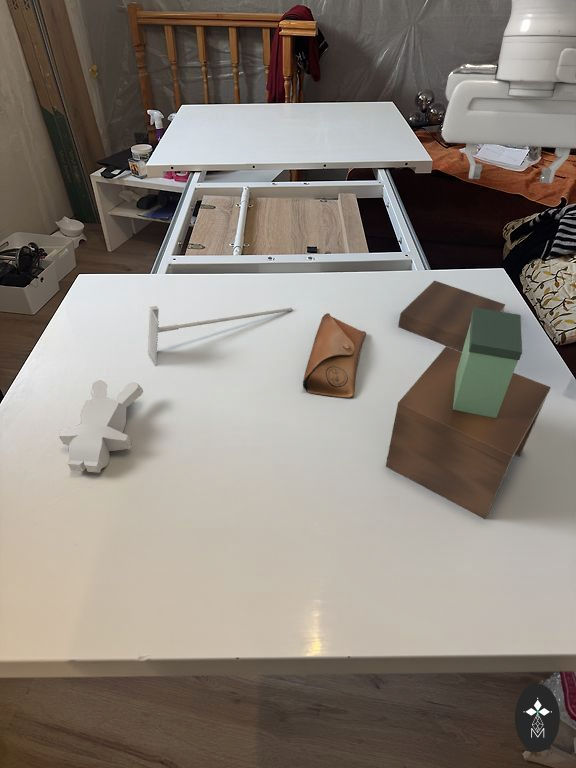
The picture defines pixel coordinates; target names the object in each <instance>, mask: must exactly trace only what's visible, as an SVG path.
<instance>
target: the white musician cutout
mask: <svg viewBox="0 0 576 768" xmlns="http://www.w3.org/2000/svg"><path fill="white" fill-rule="evenodd" d="M91 384H92V385H91V389H90V395H91V398H92V399H87V400H85V402H84V403H83V406H82V408H81V411H80V418H79V419H80V420H79V421H80V423H79V424H77V425H74V426H71V427H67V428H64V429H61V430H59V434H58V437H59V439H60V441H61V443H62V445H64V446H69V447H68V462H67V466H68V467H69V468H70V470H71V471H76V472H77V471H78V472H83V471H85V470H86V471H87V472H88V473H89V472H90V473H101V470H102V469H103V468H106V467H107V466H108V465H109V464H110V459H111V456H110V452H113V451H123V450H130V448H131V446H132V443H131V439H130V438H129V437H130V436H129V435H128V434H126V433H124V430H125V428H126V425H127V407H129V406H131V404H132V403H134V402H135V401H136V400H138V399H139V398H140V397H141V396H142V395H143V394H144V390H143V387H141V385H140V384H139V383H137V382H130V383H128V384H126V385H125V386H123V388H122V390H121V391H120V392H119V393H118V395H117V396H116V397H115V398H114V399H112V398H110V397H108V384H107V382H106V381H104V380H95V381H94V382H92V383H91Z"/></svg>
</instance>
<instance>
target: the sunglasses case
mask: <svg viewBox="0 0 576 768" xmlns="http://www.w3.org/2000/svg"><path fill="white" fill-rule="evenodd" d="M366 336H367V331H365V330H360V329H357V328H356V327H354V326H352V325H350V324H348V323H346V322H344V321H341V320H340V319H337V318H336V317H333V316H332V315H331V313H329V312H326V313H324V314H323V316H322V317H321V319H320V323H319V325H318V328H317V332H316V334H315V338H314V341H313V345H312V347H311V350H310V353H309V357H308V360H307V364H306V367H305V371H304V376H303V379H302V387H303V389H304V390H305V391H306V392H307V393H308V394H312V395H317V396H321V397H322V396H323V397H330V398H342V399H350V398H353V397H354V395H355V388H356V377H357V370H358V364H359V359H360V355H361V351H362V347H363V343H364V340H365V338H366Z"/></svg>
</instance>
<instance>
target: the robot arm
mask: <svg viewBox="0 0 576 768" xmlns="http://www.w3.org/2000/svg"><path fill="white" fill-rule="evenodd" d="M502 36H503V37H502V41H501V46H500V52H499V57H498V62H497V63H483V64H473V63H462V64H461V66H459V67H456V68H455V69H453V70H451V72H450V73H449V75H448V77H447V78H446V85H445V91H444V95H445V99H446V100H447V102H448V104H447V107H446V111H445V115H444V119H443V124H442V130H441V138H443V140H444V141H445V142H446V143H447V144H449V143H450V144H451V143H452V144H465V149H464V150H465V154H466V157H467V160H468V163H469V165H470V166H469V170H468V179H469V180H481V173H482V170H483V164H481V163H476V161H475V158H474V155H473V154H474V153H477V150H478V145H491V146H493V145H495V146H497V145H498V146H514V147H515V146H516V147H535V148H536V147H537V148H538V147H539V148H555V151H554V154H555V155H556V158H555V159H554V160H553V161H552V163H551V164H550V165H549V166H548V167H541V171H540V173H541V174H540V175H539V179H538V182H539V183H540V184H548V185H550V184H551V185H552V184H553V182H554V178H555V174H556V171H558V169H560V168H561V166H562V165H563V164H564V163H565V162H566V161H567V159H568V158H569V156H570V153H571V149H576V0H511V11H510V15H509V19H508V22H507V24H506V27H505V29H504V32H503V35H502ZM458 72H460V73H458Z"/></svg>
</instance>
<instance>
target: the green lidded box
mask: <svg viewBox="0 0 576 768" xmlns="http://www.w3.org/2000/svg"><path fill="white" fill-rule="evenodd" d="M521 316H522V315H521V314H520V313H519V314H517V313H512V312H505V311H503V312H500V311H493V310H487V309H480V308H473V312H472V315H471V322H470V326H469V329H468V333H467V337H466V340H465V344H464V347H463V351H462V354H461V358H460V362H459V365H458V369H457V372H456V381H455V392H454V402H453V410H457V411H462V412H467V413H472V414H477V415H483V416H488V417H493V418H497V415H498V413H499V410H500V407H501V404H502V402H503V399H504V396H505V394H506V391H507V388H508V386H509V383H510V380H511V378H512V375H513V373H515V369H516V367H517V364H518V361H520V359H521V356H522V355H523V340H522V320H521V319H522V317H521Z"/></svg>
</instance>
